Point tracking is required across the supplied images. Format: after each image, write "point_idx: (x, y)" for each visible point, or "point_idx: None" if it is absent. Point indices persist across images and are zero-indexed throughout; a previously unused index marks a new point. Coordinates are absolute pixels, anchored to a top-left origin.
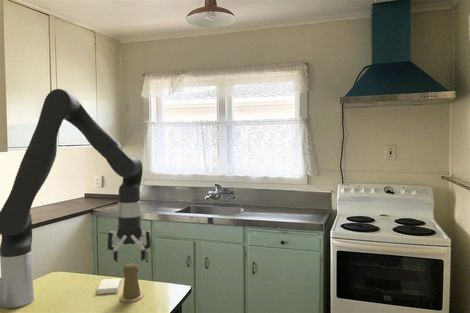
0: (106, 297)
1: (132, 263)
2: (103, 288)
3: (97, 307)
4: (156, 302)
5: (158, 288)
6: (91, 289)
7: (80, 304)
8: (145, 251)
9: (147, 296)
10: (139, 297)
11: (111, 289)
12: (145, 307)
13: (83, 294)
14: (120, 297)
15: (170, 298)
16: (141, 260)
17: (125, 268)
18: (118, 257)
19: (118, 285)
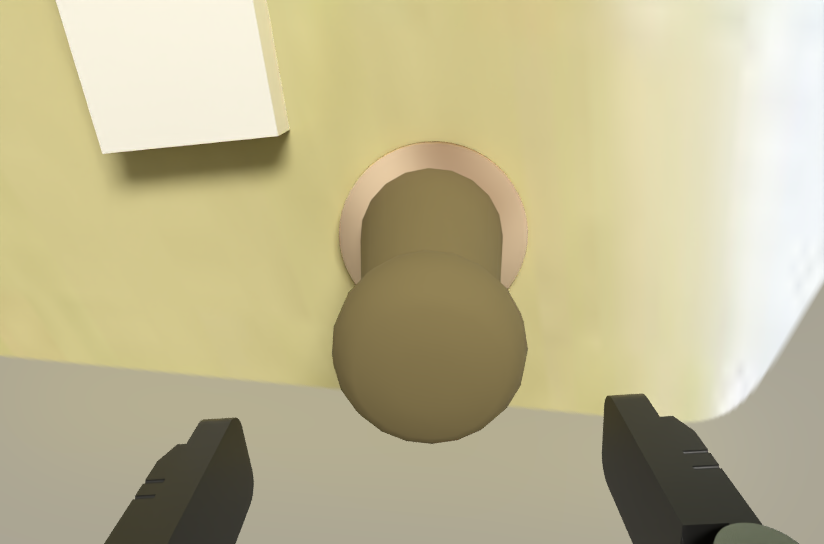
0: (229, 218)
1: (444, 333)
2: (151, 144)
3: (231, 366)
4: (632, 338)
5: (649, 73)
6: (16, 32)
7: (90, 312)
8: (742, 522)
9: (557, 234)
10: (502, 283)
11: (227, 139)
12: (558, 398)
13: (8, 140)
14: (350, 266)
15: (741, 287)
16: (610, 477)
17: (377, 426)
18: (223, 450)
19: (267, 83)
